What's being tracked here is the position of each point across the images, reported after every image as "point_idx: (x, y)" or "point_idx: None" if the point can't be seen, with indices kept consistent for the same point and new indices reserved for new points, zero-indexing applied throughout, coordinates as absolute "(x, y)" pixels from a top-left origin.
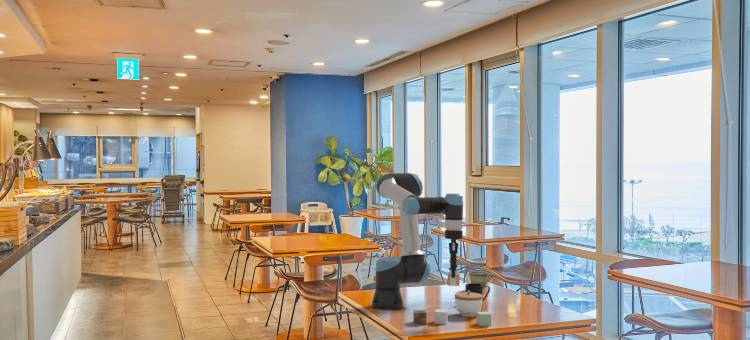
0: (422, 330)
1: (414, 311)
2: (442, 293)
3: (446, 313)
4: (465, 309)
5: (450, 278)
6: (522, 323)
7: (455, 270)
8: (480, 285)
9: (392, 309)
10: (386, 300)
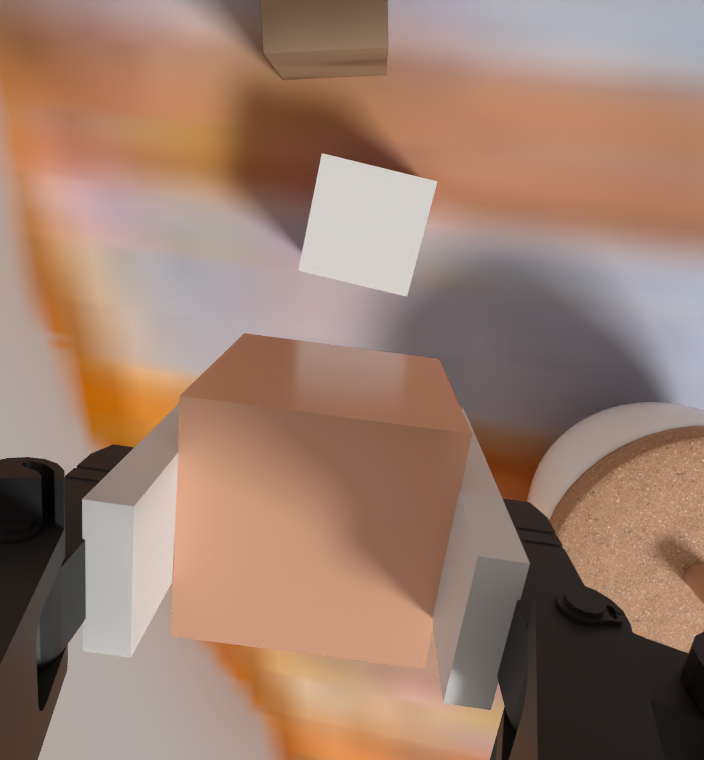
0: (72, 23)
1: None
2: None
3: (302, 270)
4: (539, 466)
5: (172, 417)
6: (348, 740)
7: (94, 615)
8: None
9: None
10: None
